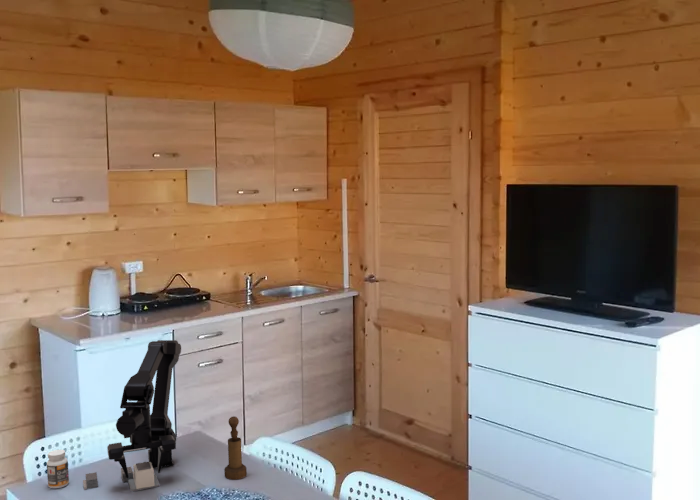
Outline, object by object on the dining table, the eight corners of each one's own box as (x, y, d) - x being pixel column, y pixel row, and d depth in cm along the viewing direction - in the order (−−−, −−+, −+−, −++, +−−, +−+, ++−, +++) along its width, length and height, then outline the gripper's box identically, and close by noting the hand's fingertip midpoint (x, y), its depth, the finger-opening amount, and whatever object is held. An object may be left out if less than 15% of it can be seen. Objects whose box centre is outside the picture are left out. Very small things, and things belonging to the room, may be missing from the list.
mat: (155, 476, 218) (155, 474, 218) (159, 486, 210) (159, 484, 210) (128, 480, 215) (127, 479, 214) (130, 491, 207) (130, 489, 207)
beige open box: (151, 478, 215) (150, 460, 214) (154, 485, 209) (153, 467, 209) (134, 481, 213) (133, 463, 212) (136, 489, 207) (135, 470, 207)
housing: (134, 473, 220) (133, 465, 220) (136, 480, 215) (135, 472, 214) (83, 482, 214) (82, 474, 214) (84, 489, 209) (83, 481, 209)
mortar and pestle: (251, 473, 218) (248, 415, 217) (239, 481, 213) (236, 421, 211) (232, 469, 221) (230, 412, 219) (220, 477, 215) (217, 419, 213)
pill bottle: (61, 489, 209) (59, 456, 208) (44, 488, 211) (41, 455, 210) (73, 481, 215) (70, 449, 214) (55, 480, 216) (53, 448, 215)
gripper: (168, 410, 222) (171, 459, 223) (104, 419, 214) (107, 470, 216) (174, 421, 211) (177, 473, 213) (107, 431, 204) (110, 485, 206)
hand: (143, 475), depth 212 cm, fingers open, 9 cm apart
